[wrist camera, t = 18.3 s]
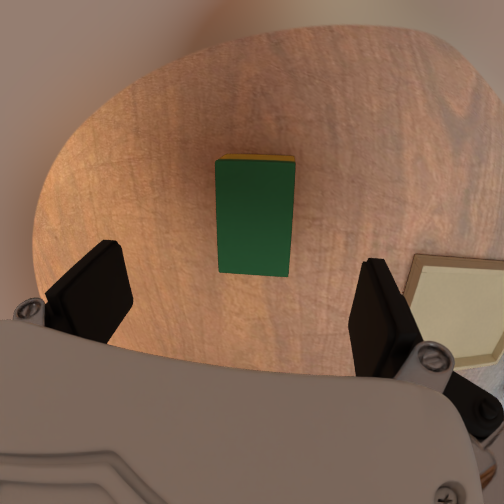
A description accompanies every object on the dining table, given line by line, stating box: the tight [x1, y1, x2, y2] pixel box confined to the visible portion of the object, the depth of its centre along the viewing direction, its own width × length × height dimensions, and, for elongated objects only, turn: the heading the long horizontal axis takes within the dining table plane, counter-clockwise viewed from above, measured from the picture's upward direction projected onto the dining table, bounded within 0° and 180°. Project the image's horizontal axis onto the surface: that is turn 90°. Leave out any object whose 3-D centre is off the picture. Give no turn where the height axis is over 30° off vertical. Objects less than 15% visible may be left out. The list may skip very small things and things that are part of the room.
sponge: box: [215, 154, 296, 277], centre depth 21 cm, size 8×5×4 cm, turn 179°
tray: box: [403, 254, 504, 371], centre depth 24 cm, size 13×17×2 cm
